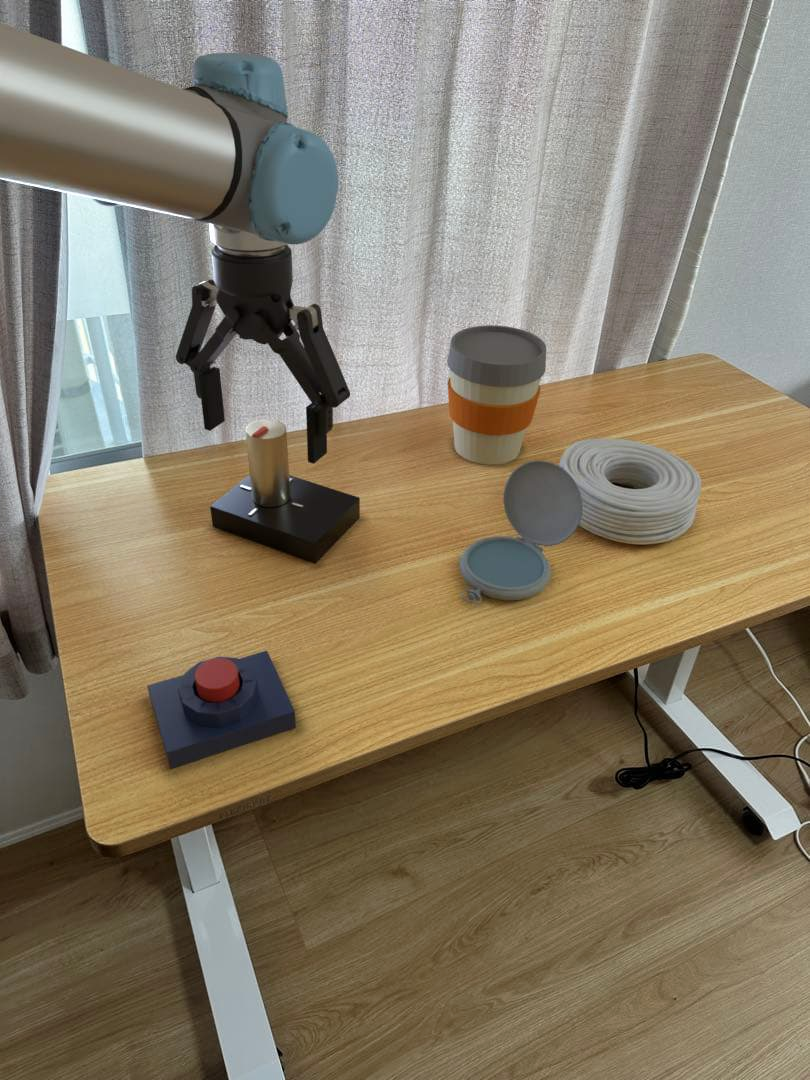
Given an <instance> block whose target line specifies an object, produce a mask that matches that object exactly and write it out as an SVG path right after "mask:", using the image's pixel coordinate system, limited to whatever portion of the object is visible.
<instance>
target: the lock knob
mask: <svg viewBox="0 0 810 1080" xmlns="http://www.w3.org/2000/svg"><path fill="white" fill-rule="evenodd" d="M287 433H288V432H287V426H286V424H284V422H282V421H280V420H277V419H271V418H264V419H258V420H257V419H256V420H254V421H252V422H250V423H249V424H248V425H247V426H246V428H245V438H246V448H247V457H248V460H247V461H248V470H249V475H250V481H251V491H252V499H253V501H254V502H255V503H256V504H258V505H260V506H263V507H277V506H280V505H283V504H285V503H286V502H287V501H288V500H289V499H290V481H289V475H290V465H289V451H288V450H289V449H288V435H287Z"/></svg>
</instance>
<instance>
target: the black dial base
mask: <svg viewBox="0 0 810 1080" xmlns="http://www.w3.org/2000/svg"><path fill="white" fill-rule="evenodd" d="M289 481H290V499H289V500H288V501H287V502H286V503H285V504H283V505H280V506H277V507H263V506H260V505H258V504H256V503H255V502H254V501H253V499H252V491H251V481H250V474H248V475H247V476H246V477H245V478H244V479H242V480H241V481H239V483H237V484H236V485H235V486H233V487H232V488H231V489H230V490H228V491H227V492H226V493H225V494H223V495H222V496H221V497H220V498H218V499H217V500H216V501H215V502H213V503H212V504H211V505H210V506H209V509H210V517H211V523H212V524H211V525H212V528H214V529H217V530H220V531H221V532H225V533H228V534H230V535H233V536H237V537H239V538H241V539H244V540H247V541H250V542H252V543H255V544H258V545H261V546H263V547H267V548H269V549H272V550H274V551H276V552H277V551H278V552H279V553H283V554H287V555H289V556H291V557H293V558H297V559H298V560H299V559H300V560H303V561H305V562H307V563H311V564H313V565H317V563H318V562H319V561H320V560H322V558H323V557H324V556H325V555H326V554H327V553H328V552H329V551H330V550H331V549H332V548H333V547H334V546H335V545H336V544H337V542H338V541H340V540H341V538H342V537H343V536H345V534H346V533H347V532H348V531H349V530H350V529H351V528H352V527H353V526H354V525H355V524H356V523H357V521H359V520H360V518H361V517H360V513H361V512H360V511H361V510H360V509H361V507H360V506H361V504H360V503H361V498H360V497H359V496H355V495H352V494H349V493H346V492H344V491H341V490H340V491H339V490H337V489H334V488H331V487H328V486H325V485H322V484H318V483H315V482H313V481H309V480H307V479H303V478H299V477H297V476H294V475H291V474H289Z"/></svg>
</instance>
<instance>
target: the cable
mask: <svg viewBox="0 0 810 1080" xmlns="http://www.w3.org/2000/svg"><path fill="white" fill-rule="evenodd" d="M558 466H560V467H561V468H563V469H564V470H566V471H567V472H568V473H569V474H570V475H571V477H572V478H573V479H574V481H575V482H576V484H577V486H578V488H579V490H580V493H581V497H582V505H583V509H582V517H581V520H580V523H579V525H578V527H581V528H583V529H584V530H586V531H588V532H590V533H592V534H594V535H596V536H599V537H601V538H603V539H607V540H610V541H613V542H617V543H623V544H629V545H655V544H656V545H657V544H661V543H667V542H670V541H673V540H675V539H677V538H679V537H680V536H682V535H683V534H684V533H686V532H687V531H688V530H689V529H690V528H691V526H692V525H693V523H694V521H695V519H696V514H697V510H698V509H697V508H698V503H699V498H700V493H701V491H702V480H701V477H700V474H699V472H698V471H697V470H696V468H694V466H693V465H692V464H690V463H689V462H687V461H686V460H685V459H683V458H682V457H680V456H678V455H676V454H674V453H672V452H669V451H667V450H665V449H663V448H660V447H657V446H654V445H651V444H648V443H645V442H639V441H635V440H630V439H623V438H610V437H609V438H606V437H605V438H603V437H602V438H601V437H599V438H587V439H580V440H578V441H575V442H573V443H571V444H570V445H568V447H567V448H566V449H565V450H564V451H563V453H562V456H561V458H560V461H559V464H558ZM613 483H614V484H613ZM615 484H619V485H625V486H628V487H632V488H628V487H627V488H626V487H623V486H618V485H615Z"/></svg>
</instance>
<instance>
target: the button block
mask: <svg viewBox="0 0 810 1080" xmlns="http://www.w3.org/2000/svg"><path fill="white" fill-rule="evenodd" d="M215 658H223V659H228V660H230V661H232V662H233V663H234V664H235V665H236V666H237V669H238V676H239V683H240V685H239V689H238V691H237V693H236V694H235V695H234V696H233V697H232V698H230V699H229V700H226V701H223V702H219V703H212V702H207V701H205V700H203V699H202V698H201V697H200V696H199V695H198V692H197V687H196V682H195V672H196V670H197V669H198V667H199V666H200V665H201V664H203V663H204V662H206V661H208V660H211V659H215ZM146 686H147V691H148V696H149V700H150V703H151V704H150V705H151V708H152V711H153V715H154V718H155V721H156V725H157V728H158V731H159V735H160V738H161V742H162V746H163V749H164V753H165V756H166V759H167V763H168V767H169V769H170V770H173V769H176V768H180V767H182V766H185V765H189V764H191V763H193V762H197V761H201V760H204V759H206V758H209V757H212V756H215V755H218V754H221V753H224V752H227V751H230V750H234V749H235V748H239V747H242V746H245V745H248V744H252V743H254V742H257V741H260V740H263V739H266V738H270V737H273V736H275V735H278V734H281V733H284V732H288V731H291V730H294V729H296V728H297V720H296V719H297V718H296V710H295V708H294V706H293V704H292V701H291V699H290V697H289V695H288V693H287V691H286V689H285V686H284V685H283V682H282V680H281V678H280V676H279V674H278V671H277V669H276V667H275V665H274V662H273V660H272V658H271V656H270V654H269V652H268V650H264V651H261V652H257V653H254V654H250V655H247V656H243V657H240V658H238V657H229V656H221V655H220V656H219V655H218V656H215V657H212V658H208V659H205V660H201V661H198V662H197V663H196V664H194V665H193V666H192V667H191V668H189V669H188V670H186V672H184V674H181V675H179V676H175V677H171V678H168V679H165V680H161V681H158V682H154V683H151V684H147V685H146Z"/></svg>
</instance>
